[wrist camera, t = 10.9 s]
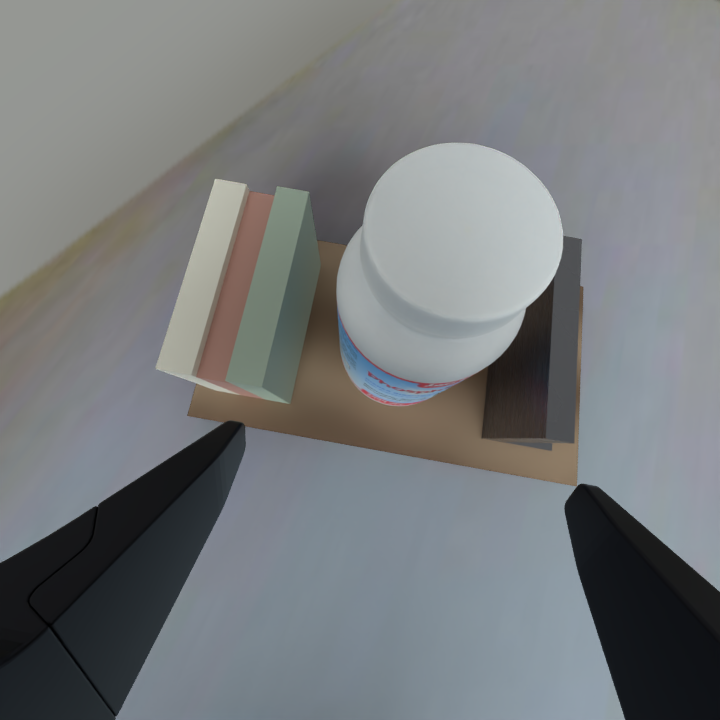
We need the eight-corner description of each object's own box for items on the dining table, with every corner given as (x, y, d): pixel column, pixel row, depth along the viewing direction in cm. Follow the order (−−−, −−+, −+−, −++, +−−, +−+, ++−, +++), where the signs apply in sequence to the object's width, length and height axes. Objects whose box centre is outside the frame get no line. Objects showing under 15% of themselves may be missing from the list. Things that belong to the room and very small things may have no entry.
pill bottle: (363, 423, 18) (385, 398, 7) (325, 317, 19) (293, 152, 8) (470, 385, 18) (647, 304, 8) (427, 284, 20) (526, 89, 9)
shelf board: (559, 482, 19) (577, 486, 17) (199, 417, 19) (187, 415, 18) (567, 297, 21) (583, 286, 20) (248, 241, 22) (241, 226, 20)
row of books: (290, 404, 18) (261, 387, 12) (216, 390, 18) (152, 367, 12) (321, 265, 20) (308, 191, 14) (253, 253, 20) (213, 175, 14)
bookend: (548, 450, 18) (646, 456, 12) (481, 438, 18) (545, 438, 12) (556, 306, 20) (644, 250, 14) (494, 295, 20) (556, 234, 14)
